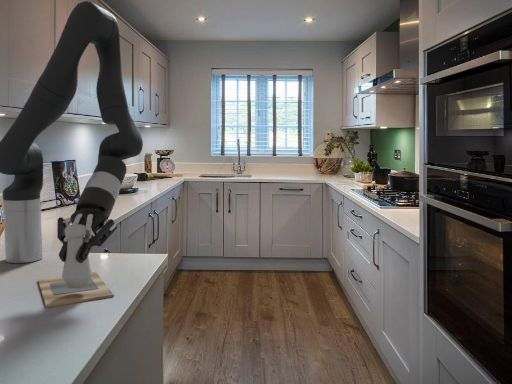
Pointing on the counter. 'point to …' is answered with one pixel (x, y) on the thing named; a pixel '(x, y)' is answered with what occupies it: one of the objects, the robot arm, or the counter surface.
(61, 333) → the counter surface
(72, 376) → the counter surface
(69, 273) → the salt shaker
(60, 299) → the wooden board
